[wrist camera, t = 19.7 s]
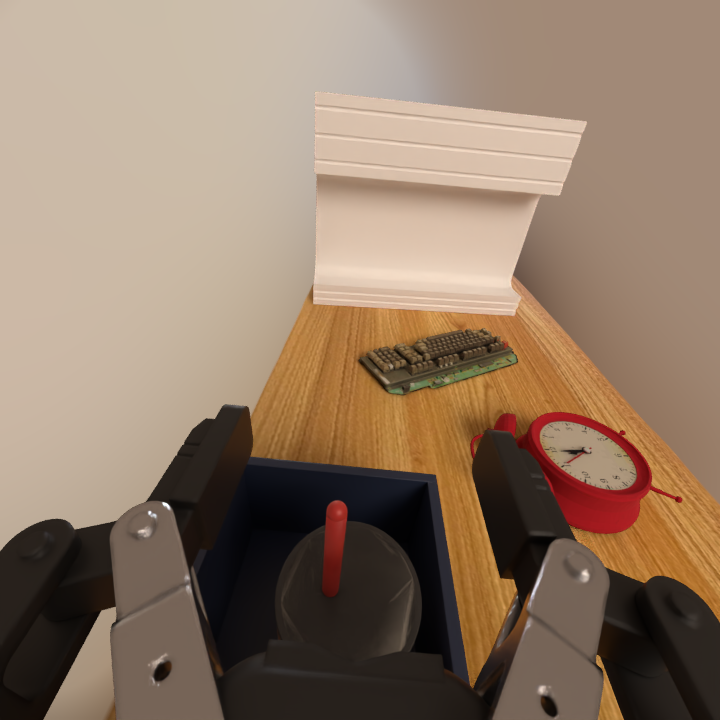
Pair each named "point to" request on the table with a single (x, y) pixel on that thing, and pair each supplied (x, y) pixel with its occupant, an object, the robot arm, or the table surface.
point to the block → (429, 201)
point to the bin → (301, 517)
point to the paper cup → (349, 590)
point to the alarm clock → (586, 469)
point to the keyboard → (438, 360)
